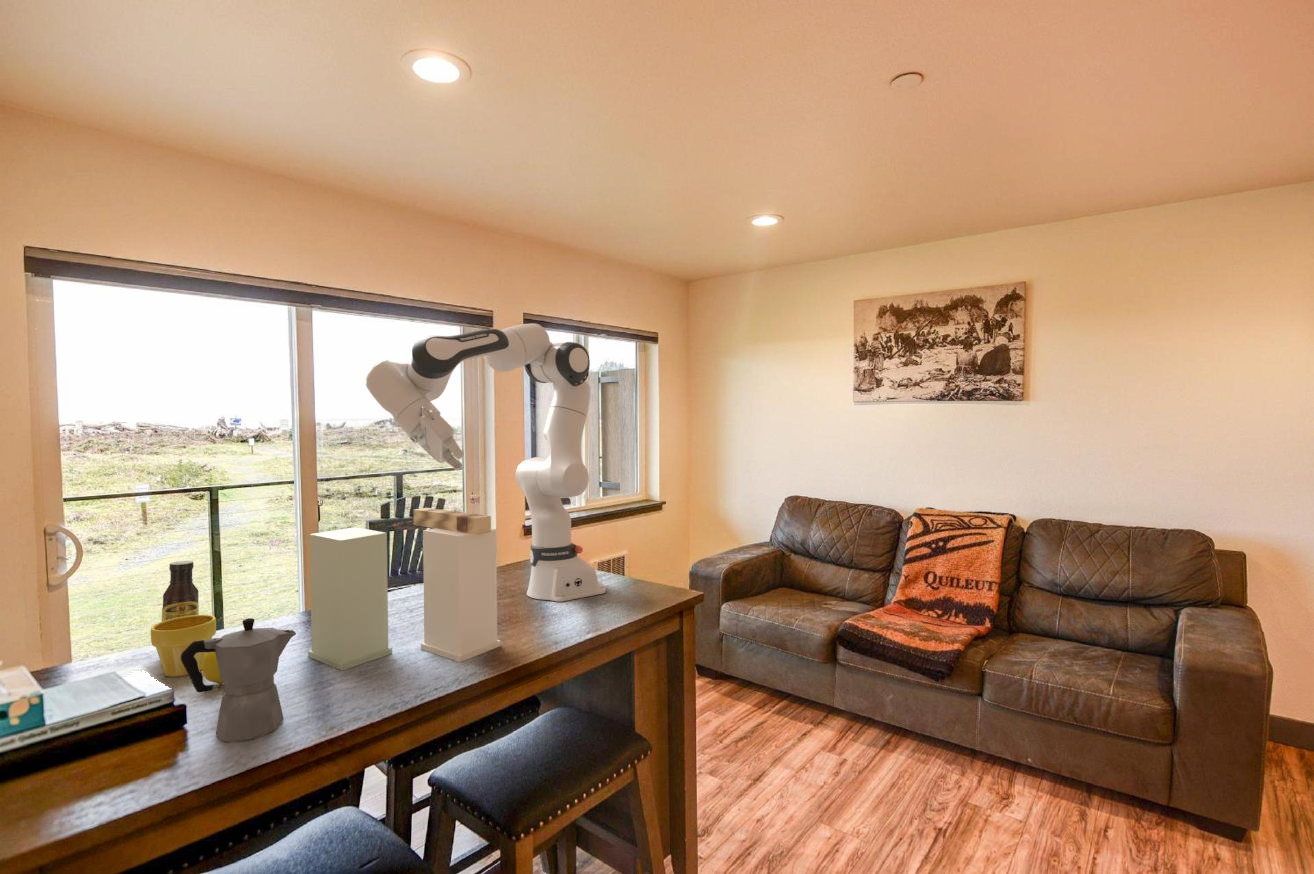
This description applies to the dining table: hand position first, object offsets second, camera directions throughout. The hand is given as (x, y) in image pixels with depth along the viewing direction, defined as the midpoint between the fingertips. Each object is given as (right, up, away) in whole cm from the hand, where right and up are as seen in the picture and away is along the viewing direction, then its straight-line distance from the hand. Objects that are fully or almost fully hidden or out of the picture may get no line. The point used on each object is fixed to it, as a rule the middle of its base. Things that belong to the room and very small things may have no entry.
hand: (460, 462), depth 145 cm
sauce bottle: (-56, -41, -13) cm, 70 cm away
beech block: (0, -14, -7) cm, 16 cm away
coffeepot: (-21, -42, -44) cm, 64 cm away
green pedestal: (-20, -40, -13) cm, 47 cm away
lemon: (-37, -41, -27) cm, 62 cm away
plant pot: (-49, -41, -21) cm, 67 cm away
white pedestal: (+3, -40, -8) cm, 41 cm away
